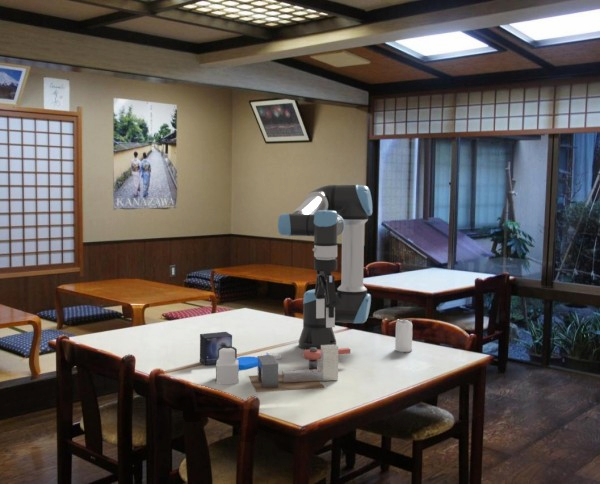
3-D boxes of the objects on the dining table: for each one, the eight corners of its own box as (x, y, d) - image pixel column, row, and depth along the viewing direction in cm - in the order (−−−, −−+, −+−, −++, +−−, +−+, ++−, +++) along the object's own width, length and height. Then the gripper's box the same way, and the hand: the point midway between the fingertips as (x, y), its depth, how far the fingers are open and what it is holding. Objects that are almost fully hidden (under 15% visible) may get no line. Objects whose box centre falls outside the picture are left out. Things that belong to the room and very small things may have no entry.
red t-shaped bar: (308, 360, 233) (308, 351, 233) (299, 355, 240) (299, 346, 239) (353, 355, 240) (353, 346, 240) (344, 351, 247) (344, 342, 246)
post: (307, 371, 240) (308, 356, 239) (316, 370, 240) (316, 356, 240) (309, 373, 237) (309, 358, 236) (318, 373, 237) (318, 358, 237)
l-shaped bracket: (281, 379, 225) (282, 346, 224) (335, 376, 228) (335, 344, 227) (283, 382, 221) (284, 349, 220) (337, 380, 225) (338, 347, 224)
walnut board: (248, 378, 230) (248, 375, 230) (312, 375, 234) (312, 372, 234) (256, 395, 212) (256, 391, 212) (325, 391, 217) (325, 388, 217)
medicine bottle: (216, 380, 228) (216, 345, 226) (238, 380, 228) (238, 344, 227) (216, 387, 220) (215, 350, 219) (238, 386, 221) (238, 350, 220)
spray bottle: (244, 366, 236) (287, 353, 256) (221, 361, 243) (265, 349, 262) (244, 374, 236) (287, 361, 256) (221, 369, 243) (265, 356, 263)
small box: (205, 366, 245) (205, 337, 244) (199, 362, 251) (198, 333, 250) (232, 363, 250) (232, 334, 249) (226, 358, 256) (226, 331, 255)
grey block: (257, 378, 227) (257, 356, 226) (272, 377, 228) (272, 355, 227) (262, 388, 216) (262, 364, 215) (278, 387, 217) (278, 364, 216)
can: (411, 352, 267) (412, 322, 265) (394, 351, 268) (395, 321, 267) (412, 348, 273) (412, 319, 272) (395, 348, 274) (396, 318, 273)
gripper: (305, 253, 234) (305, 314, 236) (323, 263, 209) (323, 331, 212) (327, 253, 235) (326, 313, 237) (347, 263, 211) (346, 330, 213)
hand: (325, 322), depth 225 cm, fingers open, 13 cm apart
